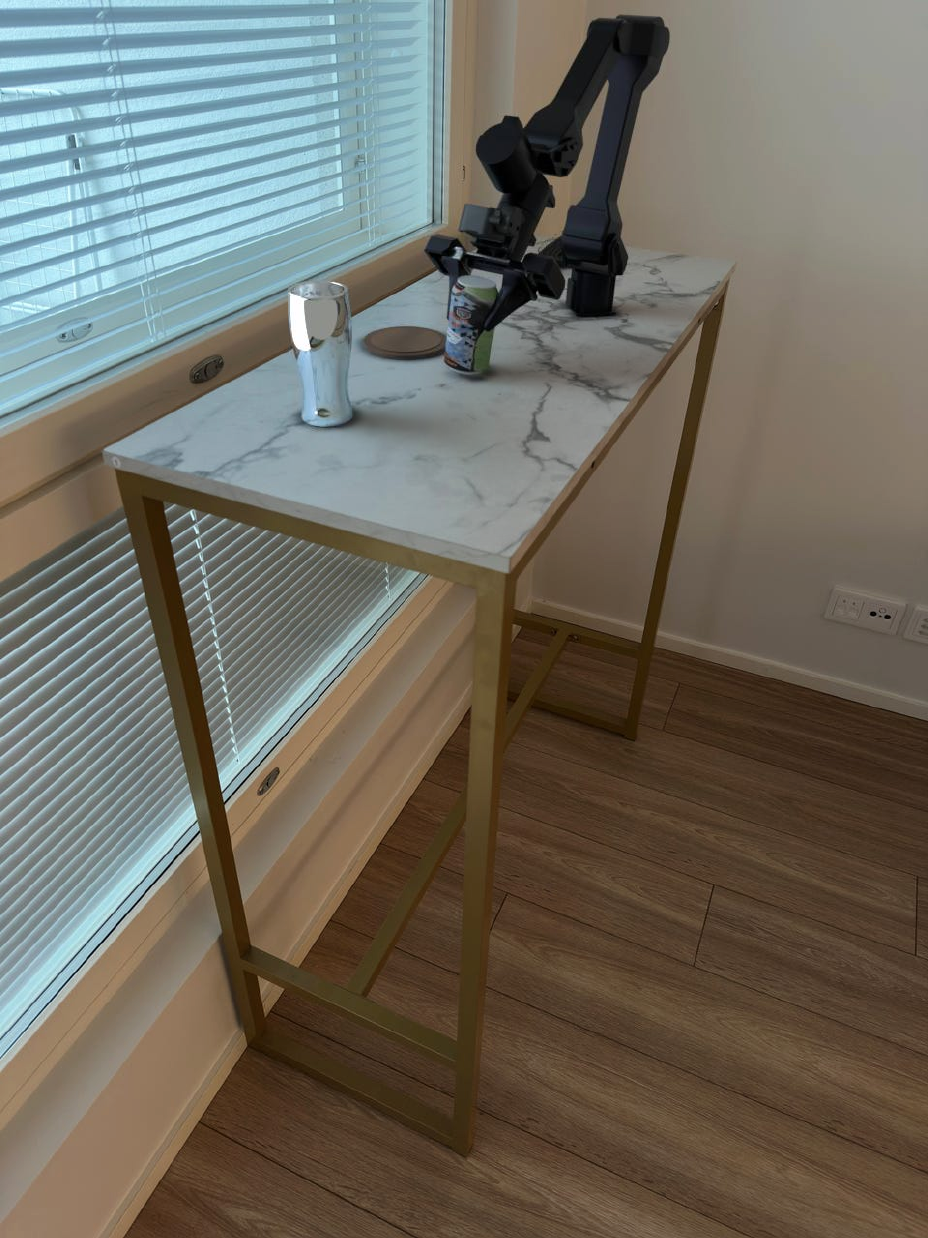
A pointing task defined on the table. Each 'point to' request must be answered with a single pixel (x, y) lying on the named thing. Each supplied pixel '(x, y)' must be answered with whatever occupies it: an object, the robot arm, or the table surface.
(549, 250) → the hairbrush
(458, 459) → the table surface
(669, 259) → the table surface
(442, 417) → the table surface
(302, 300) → the beer glass
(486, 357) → the beverage can
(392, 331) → the coaster
